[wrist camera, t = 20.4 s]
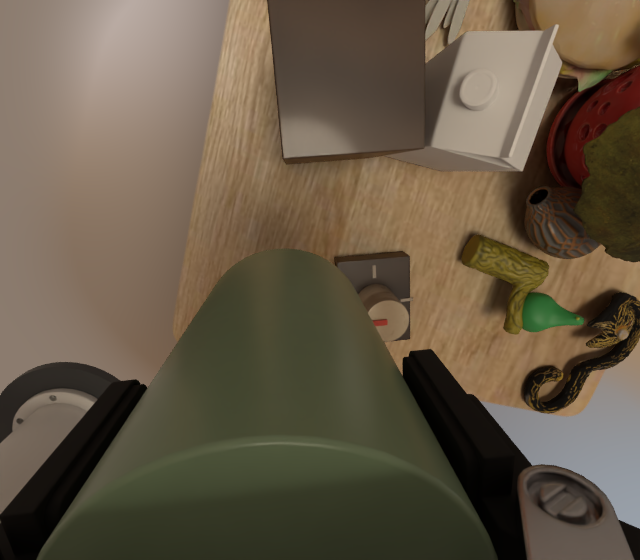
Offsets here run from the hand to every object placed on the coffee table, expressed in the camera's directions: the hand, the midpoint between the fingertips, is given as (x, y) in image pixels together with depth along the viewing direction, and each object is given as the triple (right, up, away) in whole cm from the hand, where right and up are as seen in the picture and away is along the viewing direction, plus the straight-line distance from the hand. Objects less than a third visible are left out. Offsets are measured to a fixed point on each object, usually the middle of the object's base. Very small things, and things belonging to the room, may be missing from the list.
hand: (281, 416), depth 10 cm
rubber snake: (+37, -10, +38) cm, 54 cm away
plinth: (+2, +21, +28) cm, 35 cm away
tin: (0, +2, +6) cm, 6 cm away
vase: (+30, +8, +31) cm, 43 cm away
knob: (+7, +1, +32) cm, 33 cm away
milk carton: (+12, +20, +30) cm, 37 cm away
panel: (+7, +2, +34) cm, 35 cm away
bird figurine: (+24, +4, +35) cm, 43 cm away
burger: (+26, +29, +26) cm, 47 cm away
